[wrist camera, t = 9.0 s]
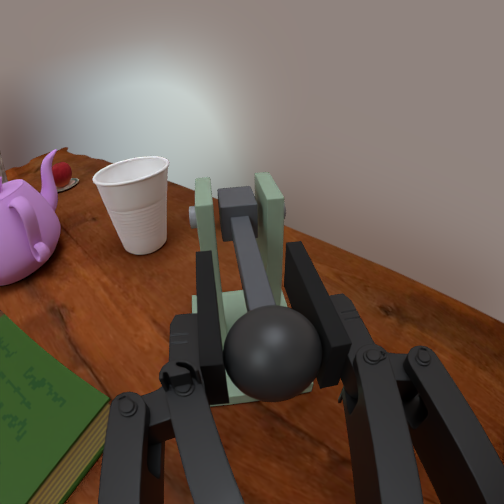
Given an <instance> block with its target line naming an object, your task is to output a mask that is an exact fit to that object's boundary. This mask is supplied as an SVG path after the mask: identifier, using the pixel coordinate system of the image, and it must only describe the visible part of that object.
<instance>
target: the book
mask: <svg viewBox="0 0 504 504" xmlns="http://www.w3.org/2000/svg"><path fill="white" fill-rule="evenodd" d="M110 400H111V399H110V398H109V397H107V396H106V395H104V394H103V393H101V392H100V391H98V390H97V389H95V388H94V387H93V386H91V385H90V384H88V383H87V382H85V381H84V380H83V379H81V378H80V377H78V376H77V375H76V374H74V373H73V372H72V371H70V370H69V369H68V368H66V367H65V366H64V365H63V364H61V363H60V362H59V361H57V360H56V359H55V358H54V357H52V356H51V355H50V354H49V353H47V352H46V351H45V350H44V349H43V348H41V347H40V346H39V345H38V344H37V343H36V342H34V341H33V340H32V339H31V338H30V337H29V336H28V335H26V334H25V333H24V332H23V331H22V330H21V329H20V328H19V327H18V326H17V325H16V324H14V323H13V322H12V321H11V320H10V319H9V318H8V317H7V316H6V315H5V314H4V313H3V312H2V311H1V310H0V504H64V503H65V501H66V500H67V499H68V497H69V496H70V495H71V494H72V492H73V491H74V490H75V488H76V487H77V486H78V484H79V483H80V482H81V480H82V479H83V478H84V477H85V475H86V474H87V473H88V471H89V470H90V469H91V467H92V466H93V465H94V463H95V462H96V461H97V459H98V458H99V457H100V456H101V454H102V453H103V451H104V443H105V436H106V429H107V423H108V417H109V411H110V405H109V403H108V402H109V401H110Z"/></svg>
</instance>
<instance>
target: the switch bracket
mask: <svg viewBox="0 0 504 504" xmlns="http://www.w3.org/2000/svg"><path fill="white" fill-rule="evenodd" d="M255 199H256V202H257V204H258V238H256V241H257V245H258V248H259V251H260V254H261V258H262V261H263V264H264V267H265V271H266V274H267V277H268V280H269V284H270V287H271V290H272V294H273V297H274V300H275V303H276V305H278V306H285V307H287V304H286V301H285V298H284V295H283V292H282V289H281V282H282V258H283V229H284V219H285V214H286V209H285V203H284V197H283V195H282V193H281V192H280V190H279V188H278V187H277V185H276V183H275V182H274V180H273V178H272V177H271V175H270V174H269V172H263V173H255ZM189 218H190V225H191V228H198V236H199V243H200V251H209V250H212V258H213V267H214V276H215V284H216V292H217V302H218V311H219V320H220V329H221V338H222V347H224V342H225V339H226V336H227V334H228V332H229V330H230V328H231V327H232V326H233V324H234V323H235V322H236V321H237V320H238V319H239V318H240V317H241V316H242V315H244V314H245V313H247V308H246V303H245V298H244V293H243V290H239V291H230V292H222V289H221V280H220V271H219V261H218V252H217V242H216V232H215V222H214V211H213V201H212V191H211V182H210V177H206V178H198V179H196V180H195V206H190V207H189ZM192 313H197V295H194V296H192ZM225 371H226V370H225ZM226 379H227V387H228V394H229V402H230V403H228V404H218V405H210V406H220V405H229V404H238V403H245V402H253V401H260V400H256V399H253V398H251V397H249V396H247V395H245V394H244V393H242V392H241V391H240V390H239V389H238V388H237V387H236V386H235V385H234V384H233V383H232V381H231V380H230V378H229V376H228V375H227V372H226ZM312 387H313V382H312V383H311V384H310V386H309V387H308V388H307V389H306V390H304V391H303V392H302V393H306V392H310V391H312Z"/></svg>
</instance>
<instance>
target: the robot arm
mask: <svg viewBox="0 0 504 504" xmlns="http://www.w3.org/2000/svg"><path fill="white" fill-rule="evenodd" d="M284 287H285V290H286V293H287V295H288V298H289V301H290V304H291V306H292V309H293V310H295V311H297V312H299V313H301V314H302V315H304V316H305V317H306V318H307V319H308V320H309V321H310V322H311V323H312V324H313V326H314V327H315V329H316V331H317V333H318V335H319V338H320V341H321V345H322V361H321V366H320V369H319V371H318V374H317V376H316V378H317V381H318V384H319V386H320V389H321V388H325V387H330V386H334V385H338V383H339V380H340V377H341V380H342V382H343V385H344V386H343V389H342V391H341V394H340V396H339V399H338V403H341V401H342V399H343V404H344V411H345V417H346V424H347V431H348V439H349V446H350V454H351V462H352V471H353V480H354V489H355V500H356V504H424V503H423V496H422V490H421V485H420V479H419V474H418V469H417V464H416V459H415V454H414V450H413V446H414V448H415V450H416V452H417V454H418V456H419V458H420V460H421V462H422V464H423V466H424V468H425V470H426V472H427V475H428V477H429V479H430V481H431V483H432V485H433V487H434V489H435V491H436V494H437V496H438V498H439V500H440V502H441V504H504V466H503V464H502V462H501V460H500V458H499V456H498V454H497V453H496V451H495V449H494V447H493V445H492V443H491V442H490V440H489V438H488V436H487V435H486V433H485V431H484V429H483V428H482V426H481V424H480V423H479V421H478V419H477V418H476V416H475V414H474V413H473V411H472V409H471V408H470V406H469V404H468V403H467V401H466V400H465V398H464V396H463V395H462V393H461V392H460V390H459V389H458V387H457V385H456V384H455V382H454V381H453V379H452V378H451V376H450V375H449V373H448V372H447V370H446V369H445V367H444V366H443V364H442V363H441V361H440V360H439V358H438V357H437V356H436V354H435V353H434V352H433V351H432V350H431V349H429V348H428V347H425V346H415V347H413V348H412V349H411V350H410V351H409V353H408V354H395V353H388V352H386V350H384V349H383V348H382V347H381V346H378V345H376V344H375V343H374V342H373V340H372V338H371V336H370V334H369V332H368V330H367V328H366V327H365V325H364V323H363V321H362V319H361V318H360V316H359V314H358V312H357V311H356V308H355V306H354V305H353V303H352V301H351V300H350V299H349V298H348V297H346V296H345V295H344V294H337V295H330V296H329V295H328V293H327V291H326V289H325V287H324V285H323V283H322V281H321V279H320V277H319V275H318V273H317V271H316V269H315V267H314V265H313V263H312V261H311V259H310V257H309V255H308V253H307V252H306V250H305V248H304V246H303V244H302V242H301V241H299V242H288V243H286V258H285V277H284ZM196 290H197V313H191V314H181V315H175V317H174V319H173V320H172V322H171V324H170V345H169V362H168V363H166V364H165V365H164V366H163V367H162V369H161V371H160V373H159V380H160V382H161V384H162V387H161V388H160V389H158V390H156V391H154V392H151V393H149V394H146V395H143V396H140V395H138V394H137V393H133V392H125V393H122V394H120V395H118V396H116V398H115V399H114V400H113V401H112V403H111V406H110V411H109V417H108V423H107V429H106V436H105V443H104V451H103V459H102V467H101V476H100V487H99V499H98V504H164V454H165V441H166V440H169V439H172V438H176V441H177V445H178V449H179V453H180V457H181V460H182V464H183V468H184V471H185V474H186V478H187V481H188V485H189V488H190V491H191V494H192V497H193V501H194V504H245V503H244V501H243V498H242V496H241V493H240V491H239V488H238V486H237V483H236V480H235V478H234V475H233V473H232V470H231V467H230V465H229V462H228V459H227V456H226V454H225V451H224V448H223V445H222V442H221V439H220V437H219V434H218V431H217V428H216V425H215V422H214V419H213V416H212V413H211V410H210V405H218V404H228V403H230V402H229V394H228V387H227V379H226V371H225V366H224V361H223V347H222V338H221V329H220V320H219V311H218V302H217V292H216V284H215V276H214V267H213V258H212V250H209V251H200V252H196ZM412 444H413V445H412Z"/></svg>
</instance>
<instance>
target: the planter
mask: <svg viewBox="0 0 504 504" xmlns="http://www.w3.org/2000/svg"><path fill="white" fill-rule="evenodd" d="M0 177H2V184H3V183H6V182H8V180H7V176H6V173H5V169H4V165H3V161H2V157H1V153H0Z"/></svg>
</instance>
